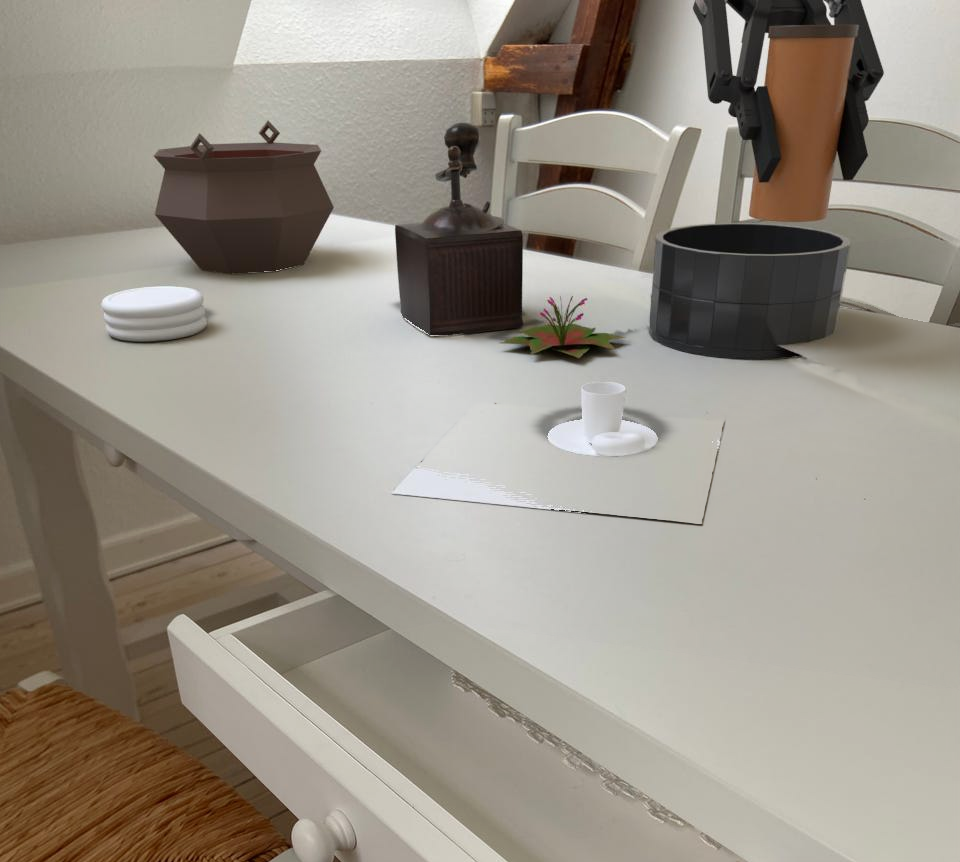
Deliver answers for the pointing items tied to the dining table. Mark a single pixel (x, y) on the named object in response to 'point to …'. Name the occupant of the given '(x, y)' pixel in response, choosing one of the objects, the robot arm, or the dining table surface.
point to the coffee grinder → (460, 258)
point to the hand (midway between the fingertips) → (812, 168)
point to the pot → (746, 288)
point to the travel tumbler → (804, 119)
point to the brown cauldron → (243, 203)
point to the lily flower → (562, 334)
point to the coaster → (154, 313)
